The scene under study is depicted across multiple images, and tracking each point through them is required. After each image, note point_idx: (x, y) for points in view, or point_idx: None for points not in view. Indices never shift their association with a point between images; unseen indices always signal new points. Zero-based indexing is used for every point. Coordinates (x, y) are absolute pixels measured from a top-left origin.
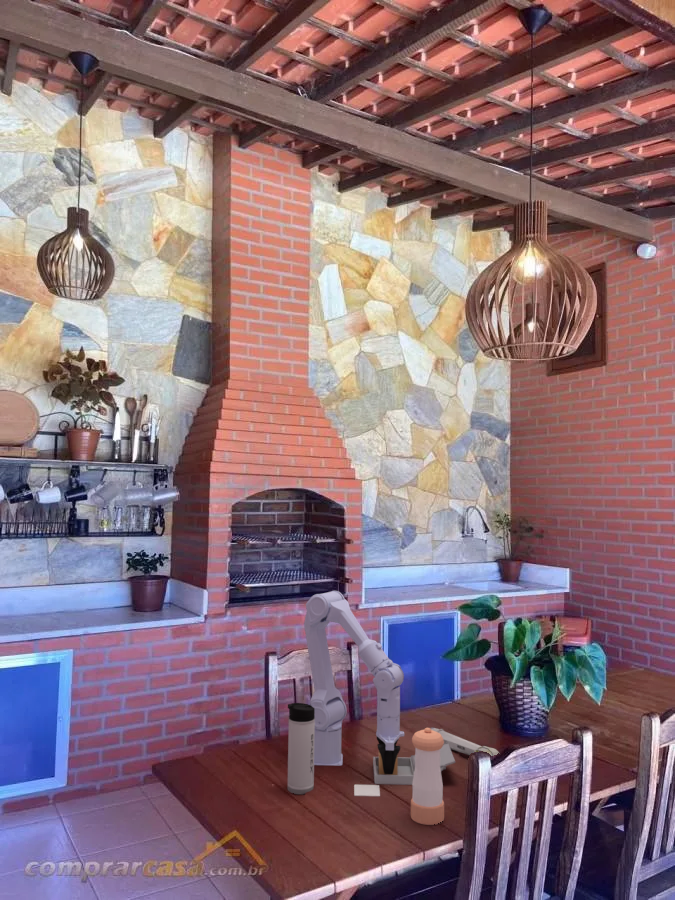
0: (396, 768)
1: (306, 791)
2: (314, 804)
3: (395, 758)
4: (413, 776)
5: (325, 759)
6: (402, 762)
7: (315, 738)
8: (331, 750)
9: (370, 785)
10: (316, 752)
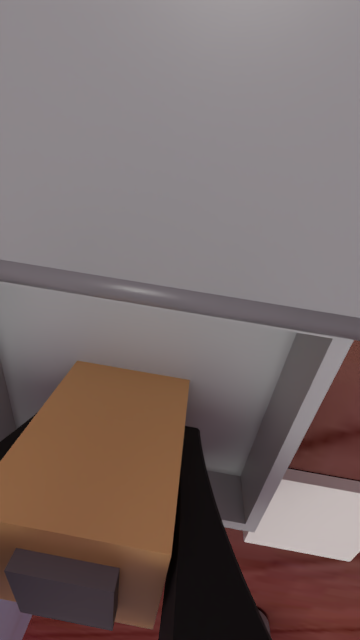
0: (182, 432)
1: (268, 626)
2: (345, 616)
3: (239, 569)
4: (350, 344)
5: None
6: None
7: None
8: (6, 622)
9: (269, 504)
10: (18, 625)
